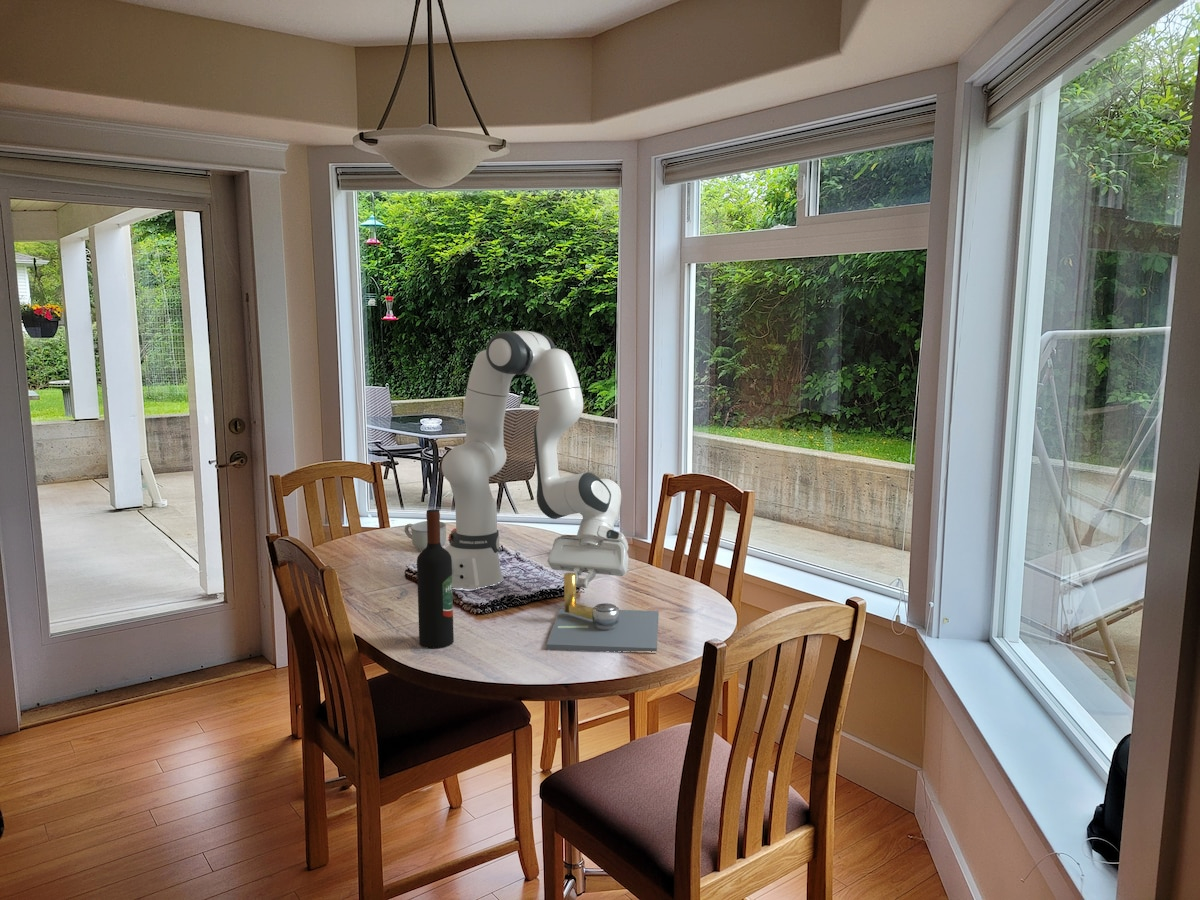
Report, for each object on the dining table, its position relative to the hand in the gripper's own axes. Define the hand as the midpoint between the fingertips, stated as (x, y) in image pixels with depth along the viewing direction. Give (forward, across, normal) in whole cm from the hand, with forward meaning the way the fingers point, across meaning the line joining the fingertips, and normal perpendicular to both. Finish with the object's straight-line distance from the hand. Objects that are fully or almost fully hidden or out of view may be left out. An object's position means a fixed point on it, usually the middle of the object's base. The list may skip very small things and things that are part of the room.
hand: (580, 586), depth 208 cm
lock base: (+12, +10, -2) cm, 15 cm away
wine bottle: (+25, -23, -16) cm, 38 cm away
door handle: (+9, +5, -3) cm, 11 cm away
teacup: (-23, -67, +32) cm, 78 cm away
